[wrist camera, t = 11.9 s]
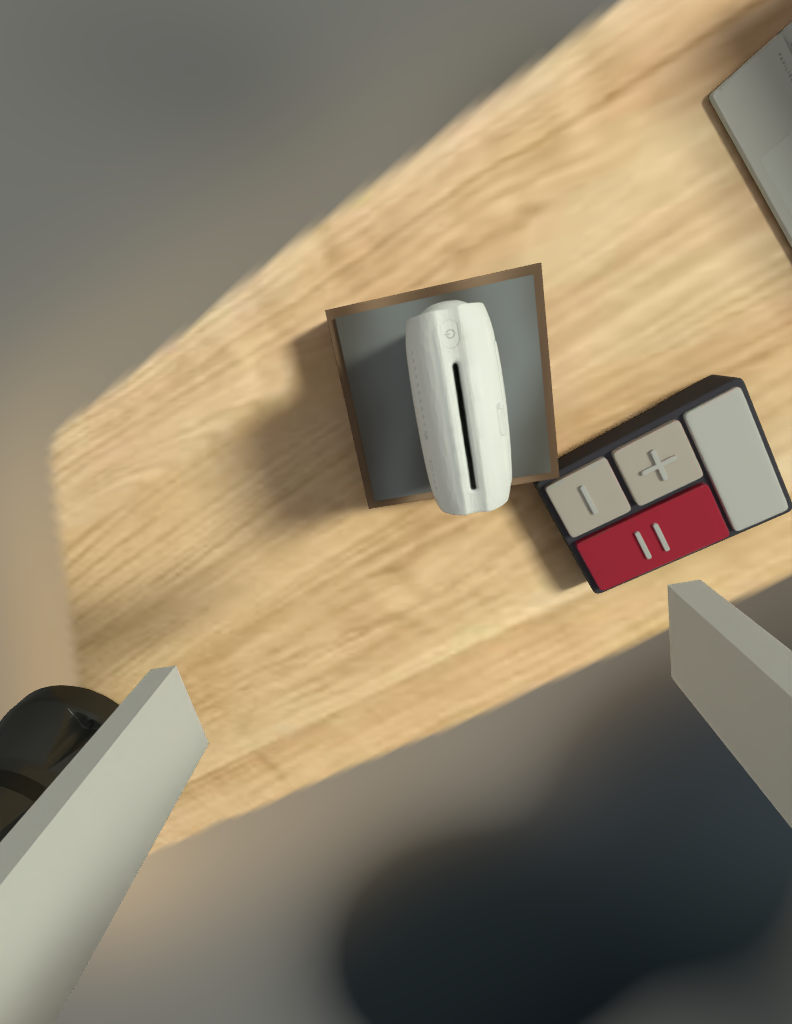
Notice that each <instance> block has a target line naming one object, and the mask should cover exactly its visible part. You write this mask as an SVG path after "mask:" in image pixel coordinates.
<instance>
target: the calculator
mask: <svg viewBox="0 0 792 1024" xmlns="http://www.w3.org/2000/svg"><path fill="white" fill-rule="evenodd" d="M558 466H559V478H555V479H549V480H543V481H536V482H533V483H534V485H535V487H536V489H537V491H538V493H539V494H540V496H541V498H542V500H543V502H544V503H545V505H546V507H547V509H548V511H549V512H550V514H551V516H552V518H553V520H554V522H555V523H556V525H557V527H558V529H559V531H560V532H561V534H562V536H563V538H564V540H565V542H566V543H567V545H568V547H569V549H570V551H571V552H572V554H573V556H574V558H575V560H576V561H577V563H578V565H579V567H580V569H581V571H582V572H583V574H584V576H585V578H586V580H587V581H588V583H589V585H590V587H591V588H592V590H593V591H594V592H595V593H602V592H605V591H607V590H609V589H612V588H614V587H616V586H618V585H621V584H623V583H625V582H628V581H630V580H632V579H635V578H637V577H639V576H642V575H644V574H646V573H649V572H651V571H653V570H656V569H658V568H660V567H662V566H665V565H667V564H669V563H672V562H674V561H676V560H679V559H681V558H683V557H686V556H688V555H690V554H693V553H695V552H697V551H700V550H702V549H704V548H707V547H709V546H711V545H713V544H716V543H718V542H720V541H723V540H725V539H727V538H730V537H732V536H734V535H737V534H739V533H741V532H744V531H746V530H748V529H751V528H753V527H755V526H757V525H760V524H762V523H764V522H767V521H769V520H771V519H774V518H776V517H778V516H781V515H783V514H785V513H787V512H789V511H790V510H791V509H792V502H791V499H790V497H789V494H788V492H787V489H786V487H785V484H784V482H783V479H782V477H781V474H780V471H779V469H778V466H777V464H776V461H775V459H774V456H773V454H772V451H771V449H770V446H769V444H768V441H767V439H766V436H765V434H764V431H763V429H762V426H761V424H760V421H759V419H758V416H757V414H756V411H755V408H754V406H753V403H752V401H751V398H750V396H749V393H748V391H747V388H746V386H745V383H744V381H743V380H742V379H741V378H735V377H728V376H720V375H710V376H708V377H706V378H704V379H703V380H701V381H699V382H697V383H695V384H693V385H692V386H690V387H688V388H686V389H684V390H683V391H681V392H679V393H677V394H675V395H673V396H672V397H670V398H668V399H666V400H664V401H662V402H661V403H659V404H658V405H657V406H655V407H654V408H652V409H650V410H648V411H646V412H644V413H642V414H640V415H639V416H637V417H635V418H633V419H631V420H629V421H627V422H625V423H623V424H622V425H620V426H618V427H616V428H614V429H612V430H610V431H608V432H606V433H605V434H603V435H601V436H599V437H597V438H595V439H593V440H592V441H590V442H588V443H586V444H584V445H582V446H581V447H579V448H577V449H575V450H573V451H571V452H570V453H568V454H566V455H564V456H562V457H560V458H559V459H558Z"/></svg>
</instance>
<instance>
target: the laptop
mask: <svg viewBox="0 0 792 1024" xmlns="http://www.w3.org/2000/svg"><path fill="white" fill-rule="evenodd" d="M709 100H710V102H711V104H712V105H713V107H714V109H715V111H716V113H717V114H718V116H719V118H720V120H721V121H722V123H723V125H724V127H725V129H726V130H727V132H728V134H729V136H730V138H731V139H732V141H733V143H734V145H735V147H736V148H737V150H738V152H739V154H740V156H741V157H742V159H743V161H744V163H745V165H746V166H747V168H748V170H749V172H750V174H751V175H752V177H753V179H754V181H755V183H756V184H757V186H758V188H759V190H760V191H761V193H762V195H763V197H764V199H765V200H766V202H767V204H768V206H769V208H770V209H771V211H772V213H773V215H774V217H775V218H776V220H777V222H778V224H779V226H780V227H781V229H782V231H783V233H784V235H785V236H786V238H787V240H788V242H789V244H790V245H791V247H792V21H791V22H790V23H789V24H788V25H787V26H786V27H785V28H784V29H783V30H781V31H780V32H779V33H778V34H777V35H776V36H775V37H774V38H772V39H771V40H770V41H769V42H768V43H767V44H766V45H765V46H763V47H762V48H761V49H760V50H759V51H758V52H757V53H756V54H754V55H753V56H752V57H751V58H750V59H749V60H748V61H747V62H745V63H744V64H743V65H742V66H741V67H740V68H739V69H738V70H736V71H735V72H734V73H733V74H732V75H731V76H730V77H729V78H727V79H726V80H725V81H724V82H723V83H722V84H721V85H720V86H718V87H717V88H716V89H715V90H714V91H713V92H712V93H711V94H710V95H709Z"/></svg>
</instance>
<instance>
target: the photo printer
mask: <svg viewBox="0 0 792 1024" xmlns="http://www.w3.org/2000/svg"><path fill="white" fill-rule="evenodd" d="M406 354H407V362H408V370H409V377H410V384H411V390H412V397H413V403H414V409H415V414H416V420H417V425H418V431H419V436H420V441H421V446H422V451H423V456H424V461H425V465H426V470H427V474H428V478H429V482H430V486H431V489H432V492H433V495H434V497H435V500H436V502H437V504H438V506H439V508H440V509H441V510H442V511H443V512H445V513H449V514H453V515H468V514H471V513H475V512H489V511H492V510H494V509H496V508H498V507H500V506H502V505H503V504H505V503H506V502H507V500H508V498H509V493H510V486H511V482H512V464H511V445H510V433H509V423H508V414H507V404H506V397H505V389H504V382H503V376H502V369H501V363H500V357H499V352H498V347H497V342H496V340H495V336H494V331H493V327H492V324H491V321H490V318H489V315H488V313H487V310H486V308H485V306H484V304H483V303H480V302H477V303H466V302H464V301H459V300H450V301H444V302H440V303H437V304H434V305H431V306H429V307H428V308H427V309H425V310H424V311H423V312H422V313H421V314H420V315H418V316H415V317H413V318H410V319H408V320H407V322H406Z"/></svg>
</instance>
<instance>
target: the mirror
mask: <svg viewBox="0 0 792 1024" xmlns="http://www.w3.org/2000/svg"><path fill="white" fill-rule="evenodd" d="M450 300H459V301H464V302H466V303H477V302H480V303H483V304H484V306H485V308H486V310H487V313H488V315H489V318H490V321H491V324H492V327H493V331H494V336H495V340H496V342H497V347H498V352H499V357H500V363H501V369H502V376H503V382H504V389H505V397H506V404H507V414H508V423H509V433H510V445H511V464H512V482H511V486H512V485H518V484H524V483H530V482H536V481H543V480H549V479H555V478H559V466H558V454H557V442H556V431H555V419H554V407H553V396H552V384H551V372H550V361H549V349H548V337H547V326H546V314H545V302H544V290H543V279H542V267H541V263H537V264H532V265H528V266H523V267H519V268H514V269H510V270H505V271H501V272H496V273H492V274H487V275H483V276H478V277H474V278H469V279H465V280H460V281H455V282H451V283H446V284H442V285H437V286H433V287H428V288H424V289H419V290H415V291H410V292H406V293H401V294H397V295H392V296H388V297H383V298H379V299H374V300H370V301H365V302H361V303H356V304H352V305H347V306H343V307H338V308H334V309H329V310H325V312H326V316H327V321H328V326H329V330H330V335H331V339H332V344H333V348H334V353H335V357H336V362H337V366H338V371H339V375H340V380H341V384H342V389H343V393H344V398H345V402H346V407H347V411H348V416H349V421H350V425H351V430H352V434H353V439H354V443H355V448H356V452H357V457H358V461H359V466H360V470H361V475H362V479H363V484H364V488H365V493H366V497H367V502H368V506H369V509H371V508H377V507H383V506H389V505H395V504H401V503H407V502H414V501H420V500H426V499H432V498H435V497H434V495H433V492H432V489H431V486H430V482H429V478H428V474H427V470H426V465H425V461H424V456H423V451H422V446H421V441H420V436H419V431H418V425H417V420H416V414H415V409H414V403H413V397H412V390H411V384H410V377H409V370H408V362H407V354H406V322H407V320H408V319H410V318H413V317H415V316H418V315H420V314H421V313H422V312H423V311H424V310H425V309H427V308H428V307H429V306H431V305H434V304H437V303H440V302H444V301H450Z"/></svg>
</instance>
